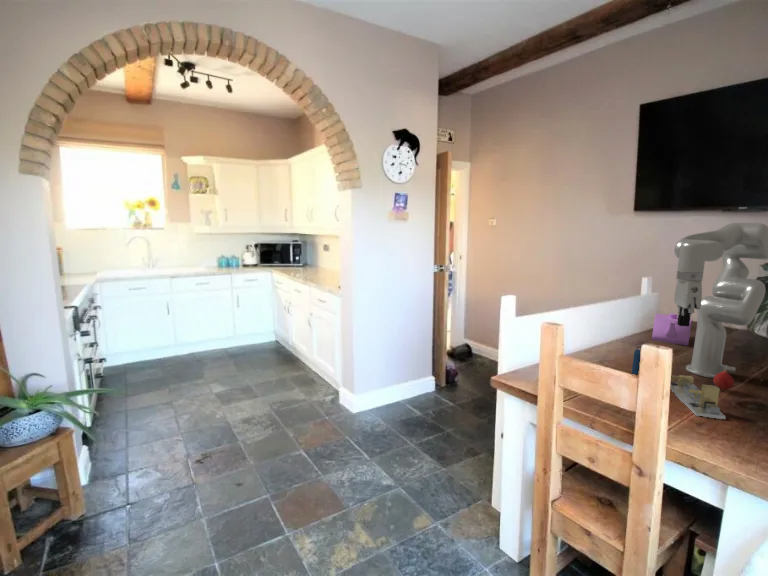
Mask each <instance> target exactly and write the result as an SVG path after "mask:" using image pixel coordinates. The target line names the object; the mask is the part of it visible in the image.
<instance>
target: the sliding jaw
mask: <svg viewBox="0 0 768 576" xmlns="http://www.w3.org/2000/svg"><path fill="white" fill-rule="evenodd" d="M720 391H721V390H720V389H719V388H718V387H717V386H716V385H712V384H711V385H710V384H701V387H700V389H699V390H692V389H689V392H690V393H695V394H694V398H695V399H697V395H698V393H699V394H700V398H699V404H700V405H701V406H702V407H704V403H705V401H707V402H714V403H715V404H716V405H717V406H719V405H718V402H719V395H720Z"/></svg>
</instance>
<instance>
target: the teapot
mask: <svg viewBox="0 0 768 576" xmlns="http://www.w3.org/2000/svg"><path fill="white" fill-rule="evenodd" d="M677 322H678V313H673V312H672V313H670V312H669V313H668V314H662V313H655V316H654V321H653V328H652V336H651V341H655V342H661V343H669V344H674V345H681V346H687V347H688V346H689V343H690V342H689V341H690V336H691V329H692V328H691V327H692V318H691V317H690V323H689V326H679V325H678V324H677Z"/></svg>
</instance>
